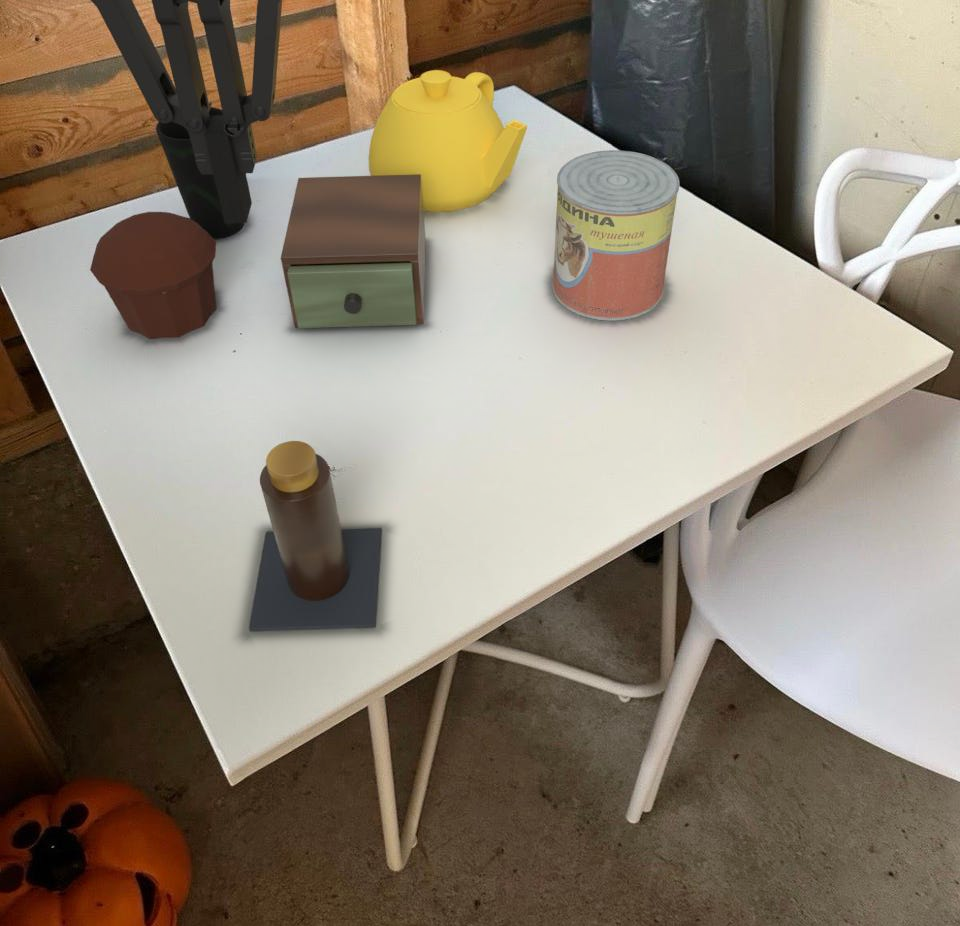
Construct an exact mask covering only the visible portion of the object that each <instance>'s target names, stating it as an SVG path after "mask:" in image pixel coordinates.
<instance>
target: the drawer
mask: <svg viewBox="0 0 960 926" xmlns="http://www.w3.org/2000/svg"><path fill="white" fill-rule="evenodd" d="M287 274H288V279H289V284H290V289H291V294H292V299H293V304H294V309H295V314H296V319H297V324H298V328H297V329H316V328H317V329H319V328H320V329H321V328H348V327H349V328H350V327H381V326H383V327H385V326H387V327H388V326H413V325H414V326H415V325H416V320H417V316H416V304H415V292H414V280H413V268H412V263H410V261H398V262H364V263H330V264H299V266H289V268H288V273H287Z"/></svg>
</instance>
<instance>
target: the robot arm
mask: <svg viewBox="0 0 960 926" xmlns="http://www.w3.org/2000/svg"><path fill="white" fill-rule="evenodd" d="M90 2H91V3H92V4H93V5H94V6H95V7H96V8H97V10H98V12H99V14H100V16H101V17H102V19H103V22H104V24H105V25H106V27H107V29H108V31H109V33H110V35H111V36H112V39H113V41H114V42H115V44H116V47H117V48H118V50H119V52H120V54H121V56H122V58H123V60H124V61H125V64H126V65H127V68H128V70H129V71H130V74H131V75H132V77H133V79H134V81H135V83H136V84H137V86H138V88H139V90H140V93H141V95H142V96H143V98H144V100H145V102H146V104H147V106H148V107H149V109H150V112H151V114H152V115H153V118H155V120H156V121H157V122H160V123H164V124H165V123H169V122H173V123H177V124H180V125H182V126H183V127H185V128H186V129H187V131H188V133H189V136H190V140H191V144H192V148H193V152H194V156H195V159H196V164H197V168H198V170H199V171H200V172H201V174H202V175H210V174H214V178H215V183H216V187H217V191H218V196H219V200H220V204H221V209H222V213H223V217H224V222H225V224H227V223H244V224H247V222H248V218H249V216H250V211H251V208H252V204H253V201H252V196H251V191H250V187H249V183H248V177H247V174H254V170H255V166H256V163H257V158H258V153H257V149H256V144H255V139H254V134H253V126H252V124H253V123H255V122H257V121H258V122H266V121H267V120H268V119H270V116H271V113H272V110H273V106H274V102H275V98H276V89H277V88H276V87H277V73H278V59H279V49H280V48H279V47H280V34H281V24H282V23H281V21H282V9H283V0H257V2H256V3H257V4H256V17H255V19H256V20H255V34H254V53H253V68H252V69H253V70H252V85H251V94H248V92H247V89H246V83H245V78H244V73H243V67H242V63H241V57H240V52H239V46H238V42H237V35H236V31H235V27H234V21H233V16H232V11H231V0H151V4H152V7H153V12H154V17H155V20H156V22H157V24H159V26H160V30H161V34H162V37H163V42H164V46H165V50H166V55H167V58H168V62H169V67H170V71H171V75H172V78H171V76H170V73H169V72H168V70H167V68H166V66H165V64H164V62H163V60H162V57H161V56H160V54H159V51H158V50H157V48H156V46H155V43H154V42H153V40H152V38H151V36H150V33H149V31H148V30H147V27H146V25H145V23H144V22H143V19H142V17H141V15H140V14H139V12H138V9H137V7H136V5H135V3H134V1H133V0H90ZM189 3H192V4H193V3H194V4H196V6H197V11H198V16H199V19H200V21H201V23H202V24H203V28H204V31H205V32H204V33H205V37H206V42H207V46H208V51H209V56H210V60H211V61H210V62H211V65H212V70H213V74H214V79H215V83H216V88H217V92H218V97H219V102H220V107H221V110H222V112H223V115H220V116H211V118H210V116H209V111H210V108H211V107H213V106H212V101H209V98H208V93H207V89H206V88H207V87H206V84H205V80H204V79H205V78H204V75H203V71H202V66H201V62H200V57H199V52H198V48H197V43H196V39H195V34H194V29H193V24H192V20H191V16H190V11H189ZM172 79H173V80H172Z"/></svg>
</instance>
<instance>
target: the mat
mask: <svg viewBox="0 0 960 926" xmlns="http://www.w3.org/2000/svg"><path fill="white" fill-rule="evenodd" d="M341 530H342V535H343V540H344V546H345V551H346V556H347V561H348V566H349V579H348V582H347V584H346V585H345V587H344V588H343V589H342V590H341V591H340V592H339V593H338V594H336V595H335V596H333V597H331V598H328V599H325V600H321V601H308V600H304V599H301V598H299V597H298V596H296V595H295V594H294V593H293V592H292V591H291V590H290V588H289V585H288V582H287V578H286V575H285V571H284V568H283V564H282V560H281V557H280V553H279V550H278V546H277V542H276V539H275V535H274V532H273V530H272V531H265V534H264V541H263V546H262V551H261V558H260V563H259V569H258V573H257V579H256V586H255V592H254V596H253V603H252V608H251V614H250V619H249V626H248V631H249V632H279V631H310V630H311V631H312V630H314V631H315V630H339V629H340V630H341V629H342V630H345V629H347V630H348V629H374V628H376V626H377V625H376V624H377V611H378V608H377V607H378V596H379V595H378V593H379V580H380V579H379V578H380V577H379V576H380V563H381V548H382V547H381V546H382V532H383V531H382V527H375V528H370V527H369V528H341Z"/></svg>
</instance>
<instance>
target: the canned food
mask: <svg viewBox="0 0 960 926" xmlns="http://www.w3.org/2000/svg"><path fill="white" fill-rule="evenodd" d="M556 184H557V192H556V193H557V194H556V195H557V197H556V214H555V215H556V217H555V236H554V237H555V238H554V257H553V260H554V261H553V277H552V280H551V281H552V282H551V288H552V289H551V290H552V293H553V295H554V297H555V299H556V300H557V301H558V302H559V303H560V304H561V305H562V306H563V307H564V308H566V309H567V310H569V311H570V312H572V313H573V314H577V315H579V316H580V317H581V316H582V317H584V318H588V319H592V320H599V321H609V322H610V321H612V322H613V321H614V322H615V321H624V320H631V319H635V318H638V317H641V316H643V315H645V314H648V313H649V312H651V311H652V310H653V309H655V308H656V307H657V306H658V305H659V303H661V300H662V299H663V296H664V288H665V287H664V285H665V278H666V270H667V263H668V257H669V251H670V244H671V238H672V231H673V224H674V217H675V210H676V205H677V204H676V203H677V198H678V193H679V191H680V184H681V183H680V178H679V176H678V174H677V172H676V171H675V170H674V169H673V168H672V167H671V166H670V165H668V164H667V163H666V162H664V161H662V160H661V159H658V158H657V157H653V156H651V155H649V154H645V153H641V152H636V151H629V150H614V149H613V150H609V149H608V150H599V151H593V152H589V153H584V154H581V155H579V156H576V157H574V158H573V159H570V160H569V161H567V162H566V163H565V164H564V165H562V166H561V167H560V169H559V171H558V173H557V176H556Z"/></svg>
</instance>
